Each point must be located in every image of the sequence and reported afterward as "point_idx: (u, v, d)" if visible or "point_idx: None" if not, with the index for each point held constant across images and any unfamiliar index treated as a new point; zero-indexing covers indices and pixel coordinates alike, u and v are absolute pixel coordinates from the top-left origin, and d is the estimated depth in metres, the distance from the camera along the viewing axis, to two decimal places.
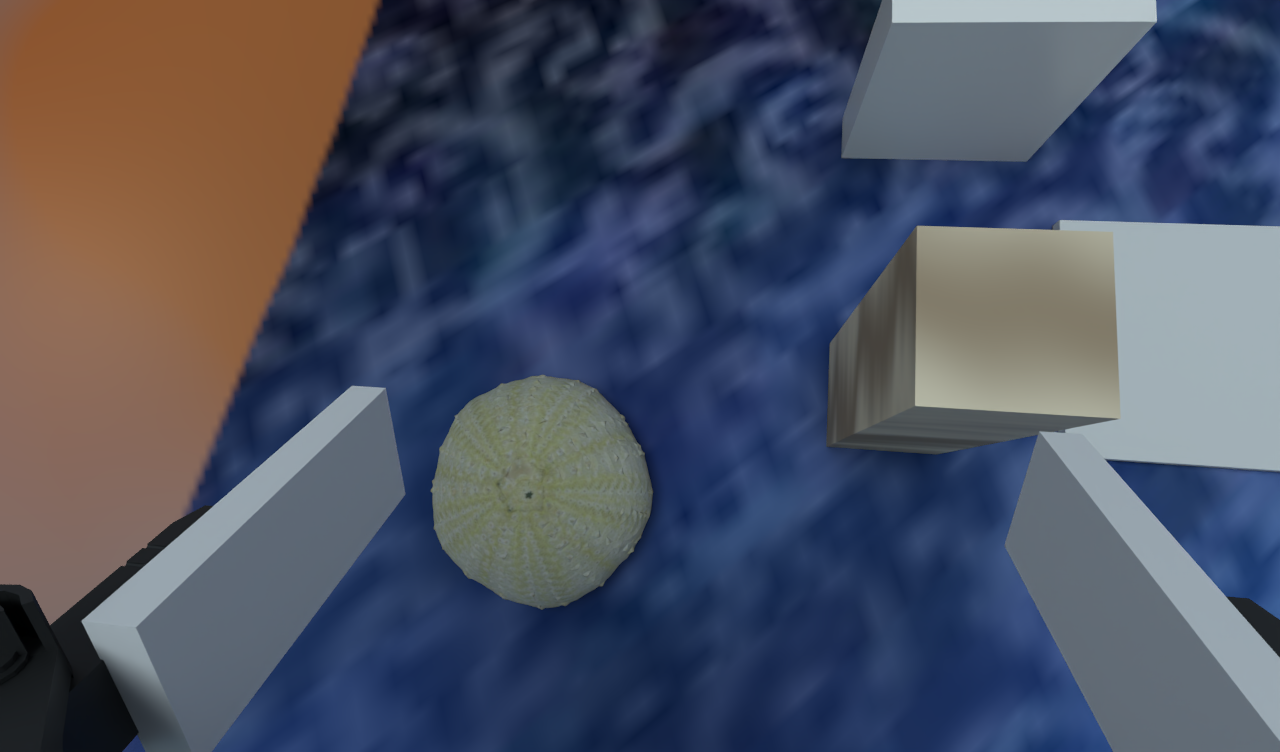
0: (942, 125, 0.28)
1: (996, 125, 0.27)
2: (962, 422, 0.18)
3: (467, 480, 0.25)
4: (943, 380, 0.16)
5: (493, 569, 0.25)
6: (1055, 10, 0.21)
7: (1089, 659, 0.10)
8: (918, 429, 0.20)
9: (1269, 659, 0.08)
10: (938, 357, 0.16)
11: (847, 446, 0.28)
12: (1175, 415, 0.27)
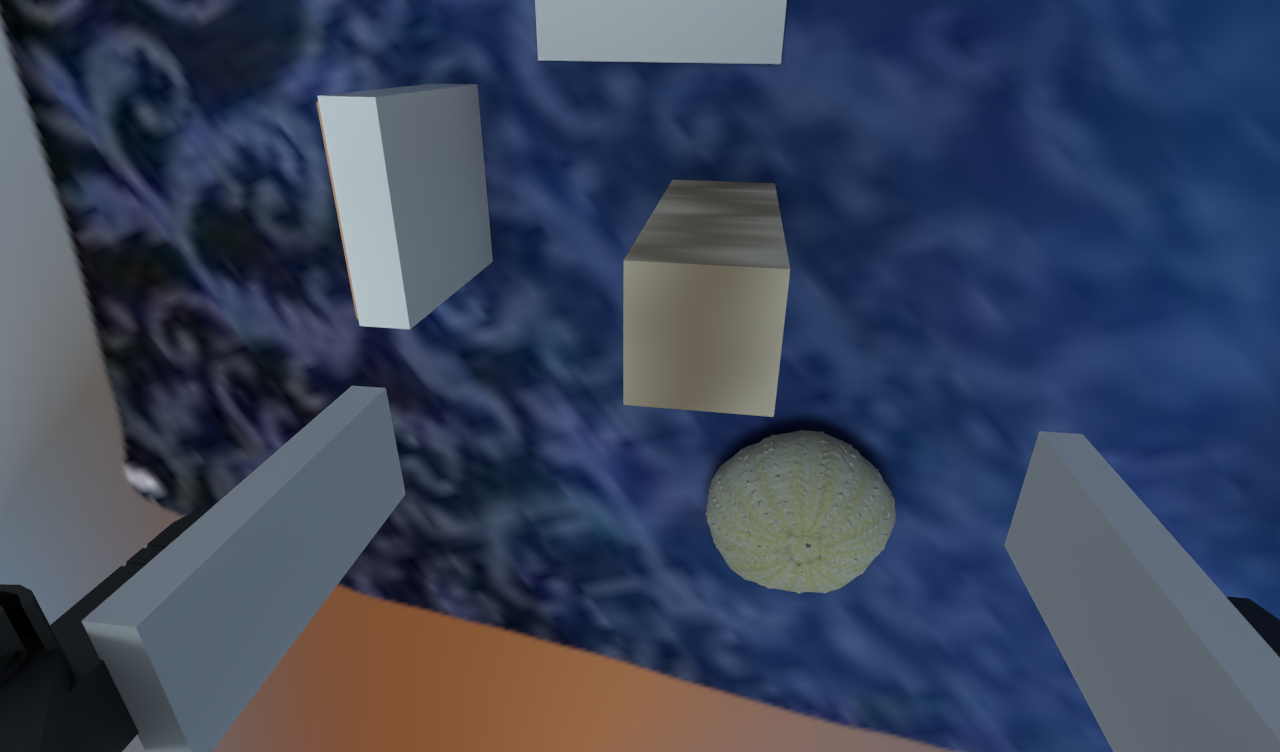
0: (462, 200, 0.29)
1: (457, 150, 0.28)
2: None
3: (794, 582, 0.33)
4: (753, 395, 0.20)
5: (864, 563, 0.33)
6: (378, 191, 0.23)
7: (1089, 659, 0.10)
8: None
9: (1269, 659, 0.08)
10: (733, 398, 0.20)
11: None
12: None
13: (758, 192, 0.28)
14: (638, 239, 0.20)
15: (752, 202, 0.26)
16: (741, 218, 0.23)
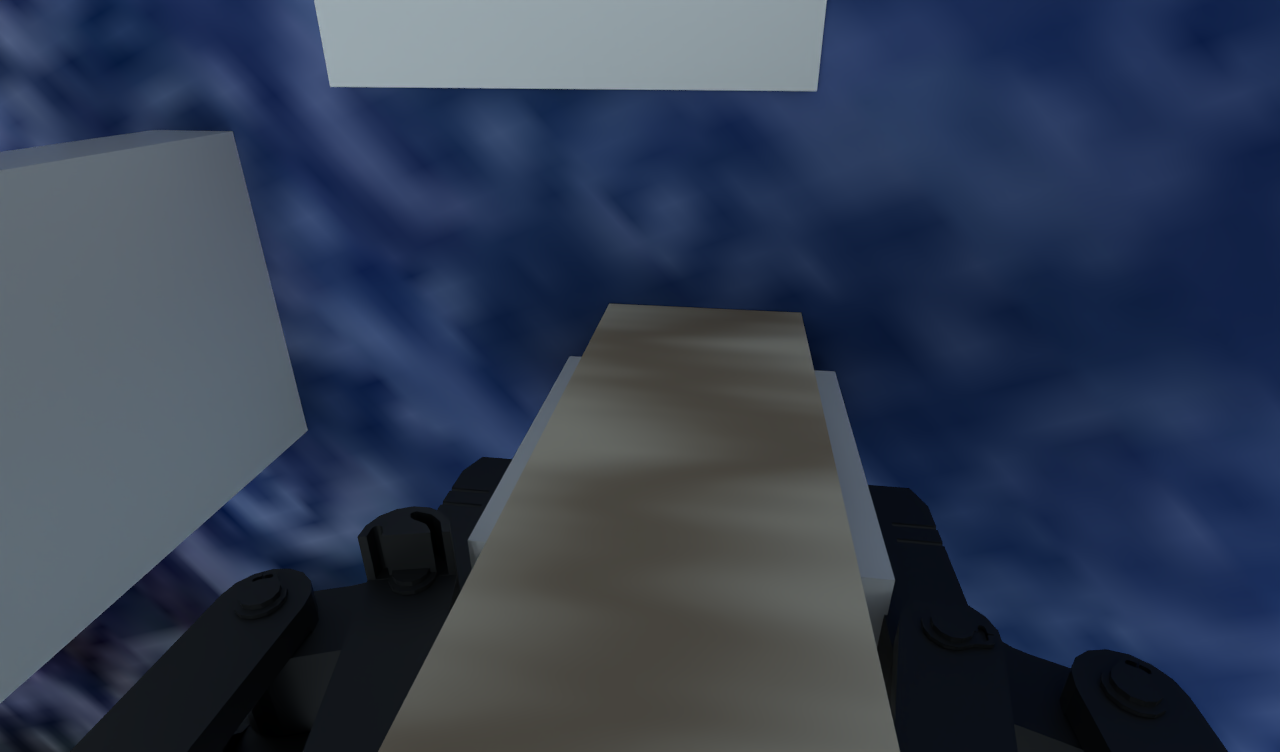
0: (199, 359, 0.15)
1: (167, 269, 0.14)
2: None
3: None
4: None
5: None
6: None
7: None
8: None
9: (867, 515, 0.10)
10: None
11: None
12: None
13: (773, 350, 0.14)
14: (423, 675, 0.07)
15: (763, 397, 0.12)
16: (742, 491, 0.09)
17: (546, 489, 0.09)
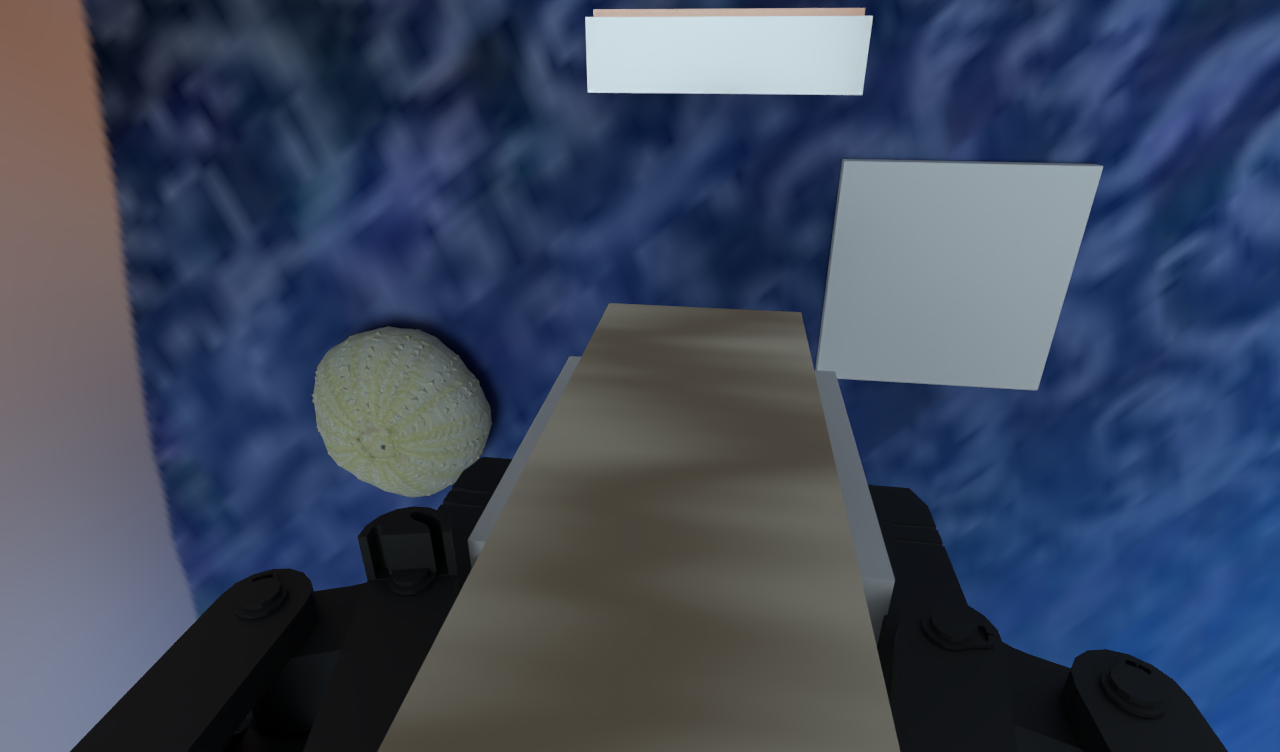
0: None
1: None
2: None
3: (335, 436, 0.33)
4: None
5: (375, 485, 0.35)
6: (758, 78, 0.19)
7: None
8: None
9: (866, 515, 0.10)
10: None
11: None
12: (912, 345, 0.31)
13: (773, 350, 0.14)
14: (424, 674, 0.07)
15: (763, 396, 0.12)
16: (741, 490, 0.09)
17: (546, 488, 0.09)
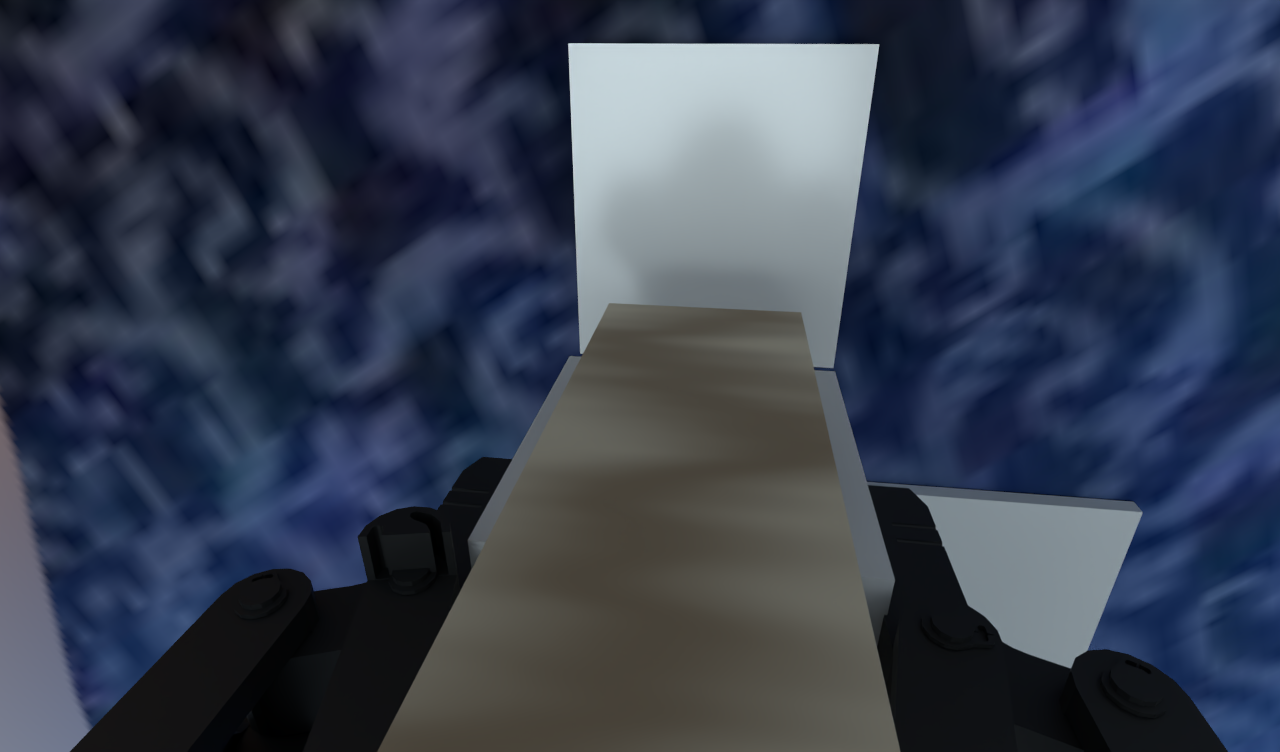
0: (692, 271, 0.20)
1: (763, 272, 0.20)
2: None
3: None
4: None
5: None
6: None
7: None
8: None
9: (866, 515, 0.10)
10: None
11: None
12: None
13: (773, 350, 0.14)
14: (423, 675, 0.07)
15: (763, 396, 0.12)
16: (741, 490, 0.09)
17: (546, 488, 0.09)
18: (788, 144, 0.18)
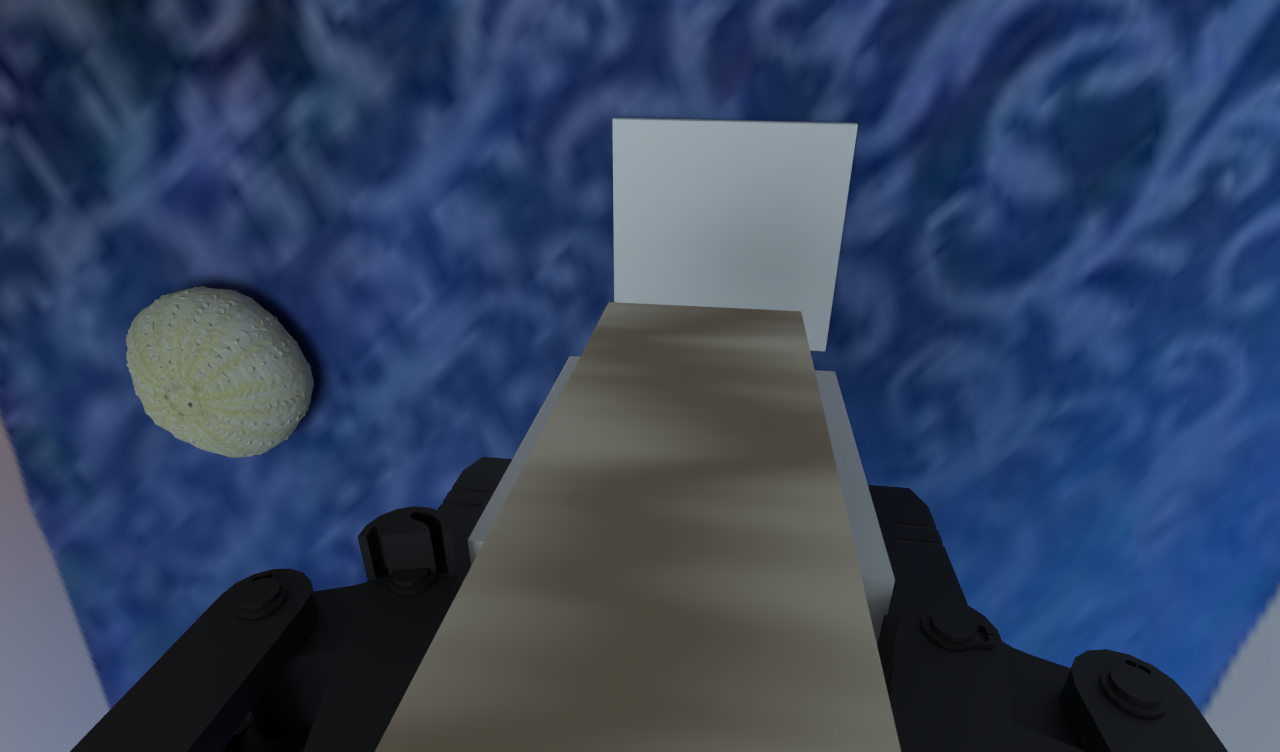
0: None
1: None
2: None
3: (144, 393, 0.33)
4: None
5: None
6: None
7: None
8: None
9: (867, 515, 0.10)
10: None
11: None
12: (702, 305, 0.31)
13: (773, 348, 0.14)
14: (422, 673, 0.07)
15: (763, 395, 0.12)
16: (741, 489, 0.09)
17: (545, 487, 0.09)
18: None
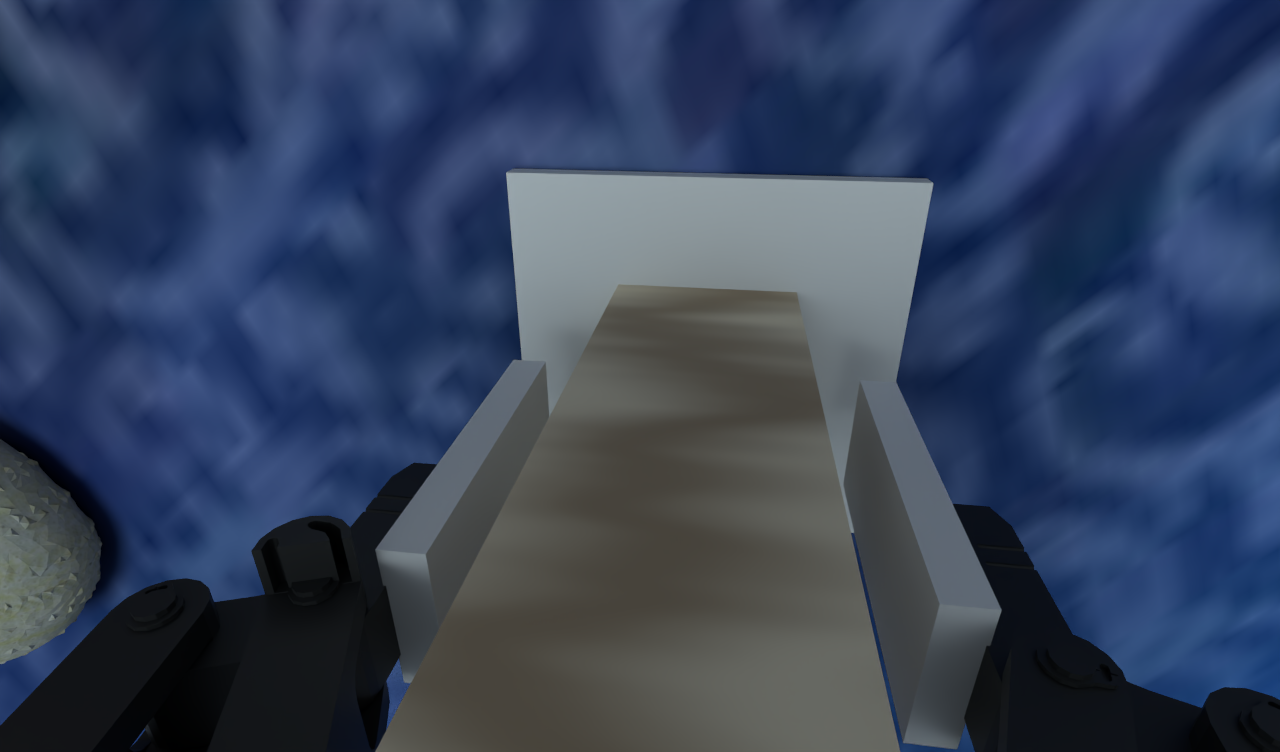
0: None
1: None
2: None
3: None
4: None
5: None
6: None
7: (872, 564, 0.12)
8: None
9: (959, 538, 0.10)
10: None
11: None
12: None
13: (770, 324, 0.15)
14: (472, 574, 0.08)
15: (761, 363, 0.13)
16: (741, 437, 0.10)
17: (568, 436, 0.11)
18: None
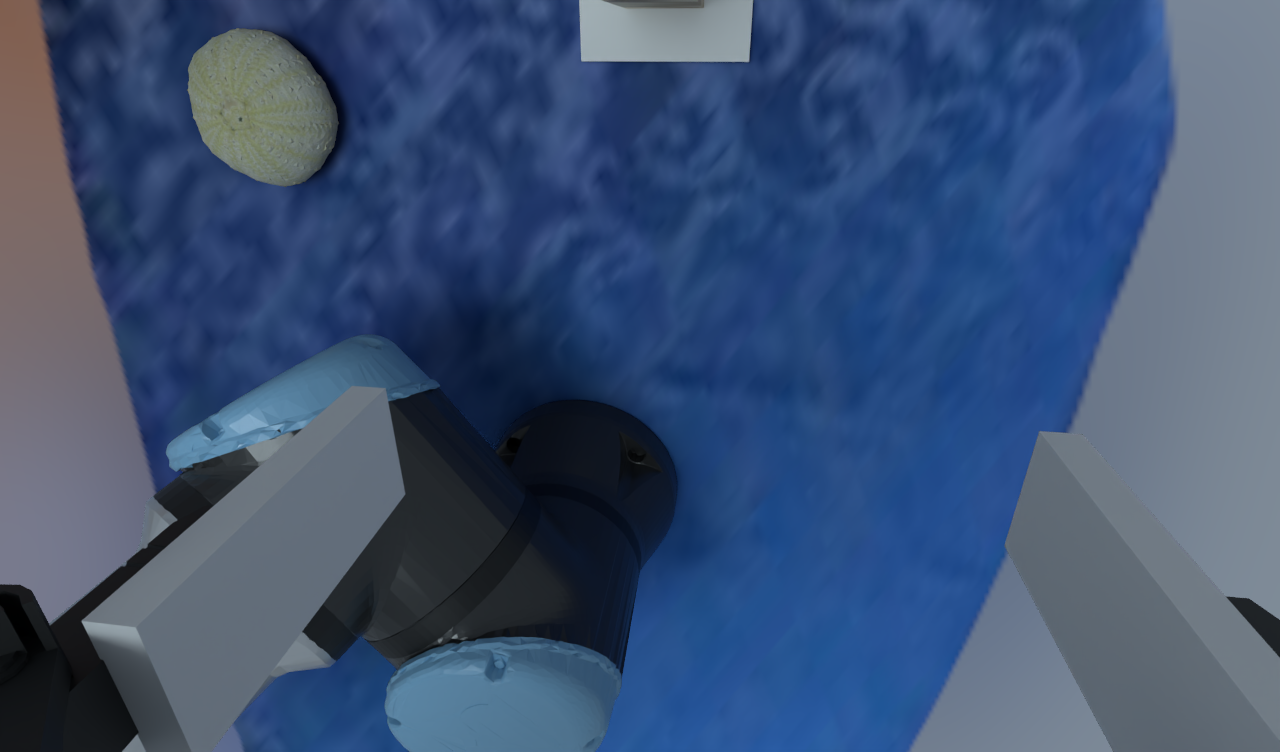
0: None
1: None
2: None
3: (203, 112, 0.41)
4: None
5: (240, 165, 0.43)
6: None
7: (1089, 659, 0.10)
8: None
9: (1269, 659, 0.08)
10: None
11: None
12: (649, 25, 0.39)
13: None
14: None
15: None
16: None
17: None
18: None
